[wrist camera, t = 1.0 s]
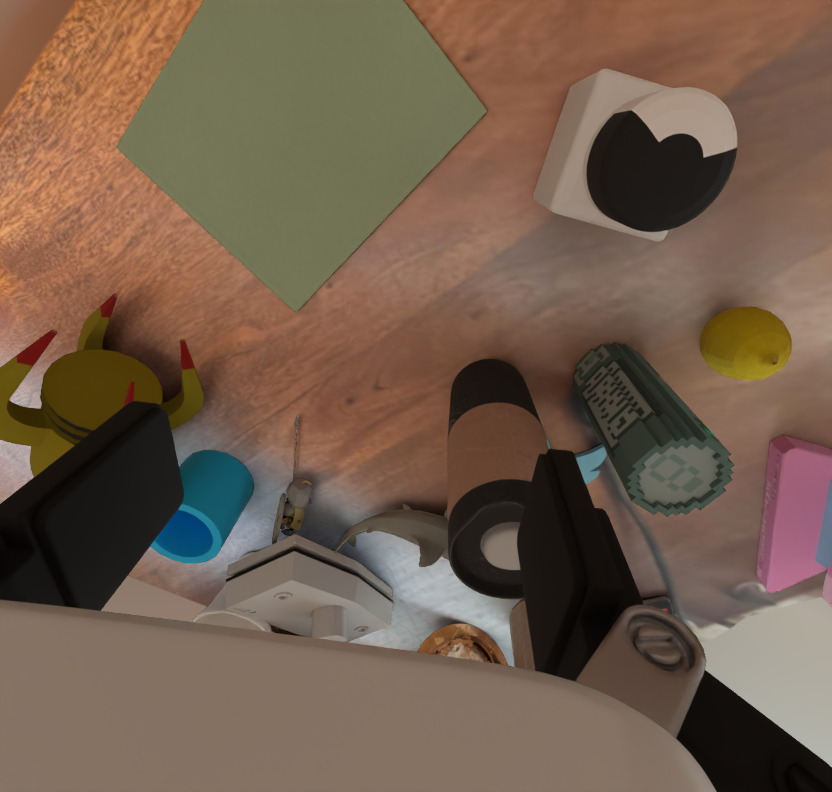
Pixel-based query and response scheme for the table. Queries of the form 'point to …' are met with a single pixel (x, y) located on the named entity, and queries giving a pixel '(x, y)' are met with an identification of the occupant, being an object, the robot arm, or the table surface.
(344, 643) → the robot arm
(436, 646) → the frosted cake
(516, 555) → the travel mug
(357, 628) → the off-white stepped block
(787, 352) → the fruit
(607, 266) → the table surface
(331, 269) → the mat
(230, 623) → the cup
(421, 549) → the shark figurine
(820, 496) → the trophy
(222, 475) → the mug
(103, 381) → the toy rocket
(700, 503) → the can
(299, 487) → the toy
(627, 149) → the container
